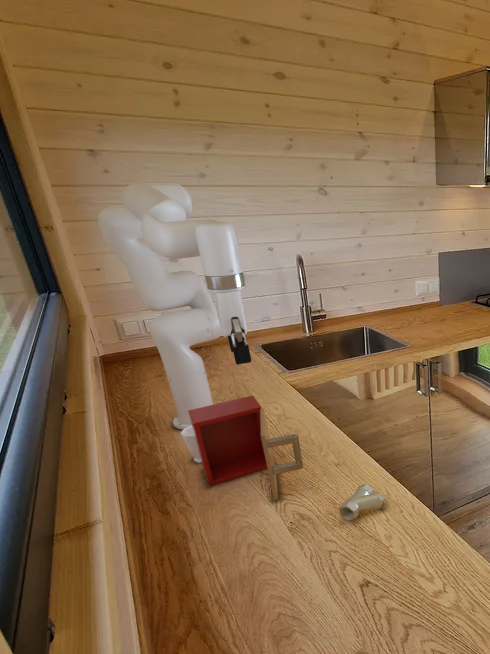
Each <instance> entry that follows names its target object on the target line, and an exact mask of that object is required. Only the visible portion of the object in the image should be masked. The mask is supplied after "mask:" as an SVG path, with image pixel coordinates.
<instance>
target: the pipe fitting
mask: <svg viewBox="0 0 490 654" xmlns="http://www.w3.org/2000/svg"><path fill="white" fill-rule="evenodd" d="M386 501H387V499H386V496H384V495H383V494H380V492H378V491H377V492H375V490H374V488H373V487H372V486H371V485H369V484H367V483H363V484H360V485H358V486H357V488H356V489H355V492H354V493H352V495H351V496H350V497H349V499H348V500H346V501H345V502H343V503H342V504H341V505H340V506H339V515H340V517H342V518H343V519H344V520H345V521H347V522H350V521H354V520H356V519H357V517H358V516H359V514H362V513H366V512H370V511H374V510H378V509H382V505H384V504H385V502H386Z"/></svg>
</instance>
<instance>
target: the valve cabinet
mask: <svg viewBox="0 0 490 654" xmlns="http://www.w3.org/2000/svg"><path fill="white" fill-rule="evenodd" d="M262 408H263V407H262V406H261V404H260V403H259V401H258V400H257V399H256V397H255V396H254V395H248V396H244V397H240V398H235V399H232V400H227V401H223V402H219V403H213V405H210V406H205V407H201V408H197V409H193V410H188V412H189V416H190V420H191V423H192V427H193V431H194V435H195V439H196V442H197V446H198V450H199V454H200V458H201V461H202V462H201V464H202V468H203V472H204V474H205V478H206V480H207V484H208V486H209V487H213V486H215V485H218V484H222V483H225V482H229V481H232V480H234V479H238V478H241V477H245V476H248V475H251V474H254V473H257V472H260V471H264V470H268V469H267V464H266V459H265V454H264V449H263V444H262V439H261V418H260V409H262Z"/></svg>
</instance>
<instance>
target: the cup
mask: <svg viewBox="0 0 490 654" xmlns="http://www.w3.org/2000/svg"><path fill="white" fill-rule="evenodd" d="M179 434H180V437H181V439H182V440H183V442H184V445H185V447H186V449H187V451H188V452H189V454H190V455H191V457H193V461H194V462H195V463H197V464H198V463H202V461H201V458H200V454H199V450H198V446H197V442H196V439H195V435H194V431H193V427H192V426H189V427H187V428H184V429H182V430H181V432H180V433H179Z"/></svg>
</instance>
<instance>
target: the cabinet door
mask: <svg viewBox="0 0 490 654" xmlns="http://www.w3.org/2000/svg"><path fill="white" fill-rule="evenodd" d="M261 408H262V409H260V418H261V439H262V444H263V449H264V454H265V459H266V464H267V469H266V470H267V473H268V477H269V483H270V488H271V492H272V493H271V494H272V497H273V498H272V499H273V501H276V500H279V496H278V482H277V475H279V474H285V473H288V472H294V471H300V470H302V469H304V463H303V456H302V452H301V451H302V450H301V446H300V439H299V435H298V434H297V433H294V434H288V435H283V436H277V437H272V438H271V437H270V431H269V426H268V421H267V417H266V411H265V408H264V407H261ZM285 445H292V449H293V454H294V461H292V462H287V463H282V464H277V465H276V461H275V457H274V452H273V448H275V447H280V446H285Z"/></svg>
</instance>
